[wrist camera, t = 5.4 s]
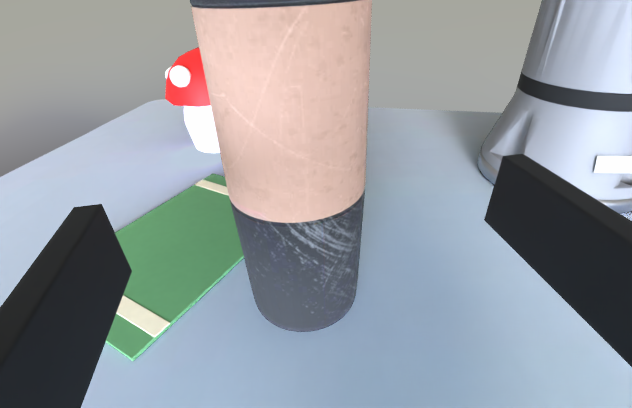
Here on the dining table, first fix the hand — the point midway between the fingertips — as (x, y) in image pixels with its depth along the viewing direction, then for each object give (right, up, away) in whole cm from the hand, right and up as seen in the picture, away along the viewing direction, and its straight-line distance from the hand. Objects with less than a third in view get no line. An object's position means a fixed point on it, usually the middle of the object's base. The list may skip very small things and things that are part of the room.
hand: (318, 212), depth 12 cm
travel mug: (-1, -6, +13) cm, 14 cm away
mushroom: (-13, +9, +35) cm, 39 cm away
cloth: (-11, -3, +18) cm, 21 cm away
